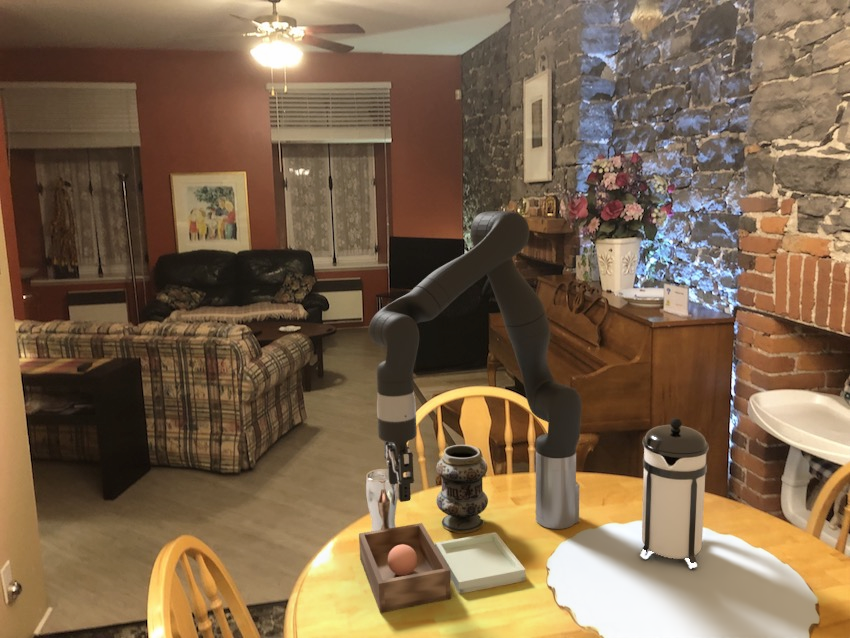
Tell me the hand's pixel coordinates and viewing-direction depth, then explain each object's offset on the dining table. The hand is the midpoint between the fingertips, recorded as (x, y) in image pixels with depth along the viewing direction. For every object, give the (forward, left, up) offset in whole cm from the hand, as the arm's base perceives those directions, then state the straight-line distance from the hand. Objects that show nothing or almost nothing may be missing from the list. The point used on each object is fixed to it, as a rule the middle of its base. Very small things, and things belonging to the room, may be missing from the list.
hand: (399, 491), depth 138 cm
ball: (0, 0, -15) cm, 15 cm away
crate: (0, 0, -19) cm, 19 cm away
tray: (-16, +1, -19) cm, 25 cm away
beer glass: (0, -18, -19) cm, 26 cm away
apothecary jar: (-19, -18, -19) cm, 32 cm away
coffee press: (-57, +8, -19) cm, 61 cm away
